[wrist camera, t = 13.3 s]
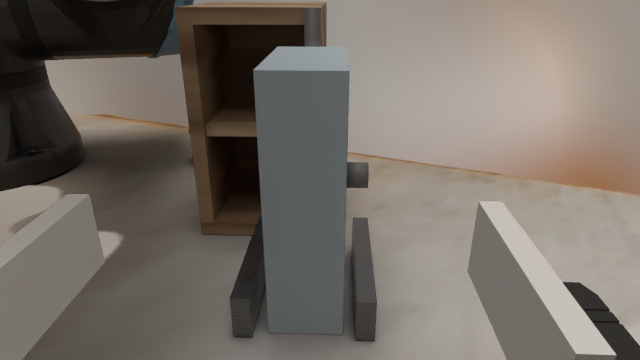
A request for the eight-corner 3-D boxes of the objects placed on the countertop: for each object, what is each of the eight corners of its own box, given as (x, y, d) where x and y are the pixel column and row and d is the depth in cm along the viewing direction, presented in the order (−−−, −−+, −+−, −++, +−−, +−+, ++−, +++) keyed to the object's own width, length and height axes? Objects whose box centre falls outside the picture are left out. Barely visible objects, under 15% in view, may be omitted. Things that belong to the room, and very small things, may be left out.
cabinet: (320, 244, 32) (320, 8, 26) (197, 241, 33) (168, 8, 26) (325, 182, 42) (326, 2, 36) (232, 181, 43) (216, 2, 36)
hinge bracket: (374, 340, 23) (376, 302, 22) (233, 336, 24) (229, 298, 23) (365, 248, 32) (367, 217, 31) (261, 246, 32) (259, 215, 31)
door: (361, 335, 24) (373, 71, 18) (268, 332, 24) (253, 70, 19) (356, 253, 31) (364, 46, 26) (285, 252, 31) (277, 46, 26)
